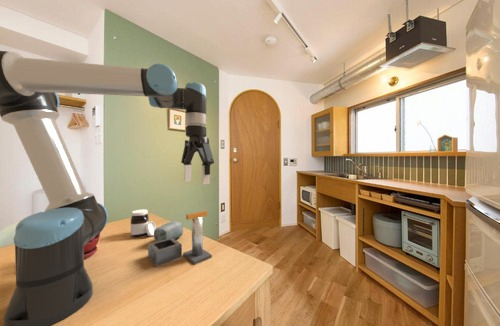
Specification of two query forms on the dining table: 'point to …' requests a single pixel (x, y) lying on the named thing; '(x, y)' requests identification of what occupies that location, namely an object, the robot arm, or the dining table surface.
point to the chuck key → (197, 232)
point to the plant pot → (91, 246)
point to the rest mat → (197, 258)
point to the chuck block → (164, 251)
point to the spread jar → (141, 224)
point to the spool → (168, 231)
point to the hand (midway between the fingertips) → (196, 182)
